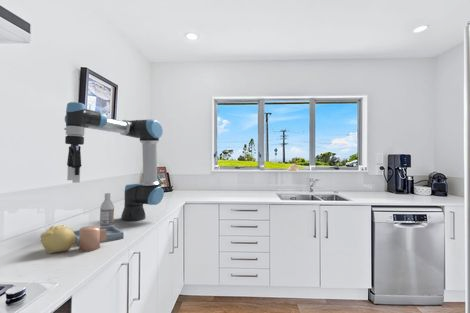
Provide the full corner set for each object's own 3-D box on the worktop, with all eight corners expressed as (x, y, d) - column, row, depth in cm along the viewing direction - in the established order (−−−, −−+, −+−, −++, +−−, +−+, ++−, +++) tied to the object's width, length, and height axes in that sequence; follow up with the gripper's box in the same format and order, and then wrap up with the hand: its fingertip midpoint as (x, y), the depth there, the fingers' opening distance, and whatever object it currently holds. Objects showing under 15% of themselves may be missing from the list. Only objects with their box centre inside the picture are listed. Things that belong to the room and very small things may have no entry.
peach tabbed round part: (77, 247, 122) (77, 227, 122) (103, 243, 129) (103, 224, 129) (81, 252, 116) (82, 231, 116) (108, 247, 123) (109, 227, 123)
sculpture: (51, 246, 123) (52, 222, 123) (79, 246, 124) (80, 222, 124) (34, 255, 112) (35, 228, 112) (65, 255, 112) (66, 229, 113)
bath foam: (113, 230, 152) (114, 194, 152) (99, 231, 149) (100, 194, 149) (113, 227, 158) (114, 192, 158) (99, 228, 155) (100, 192, 155)
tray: (112, 231, 149) (112, 225, 149) (123, 238, 137) (123, 232, 137) (70, 237, 136) (70, 231, 136) (78, 246, 124) (78, 239, 124)
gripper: (61, 136, 135) (59, 179, 135) (70, 133, 116) (68, 183, 116) (78, 137, 140) (77, 179, 140) (90, 135, 121) (88, 183, 121)
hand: (73, 181), depth 128 cm, fingers open, 13 cm apart
